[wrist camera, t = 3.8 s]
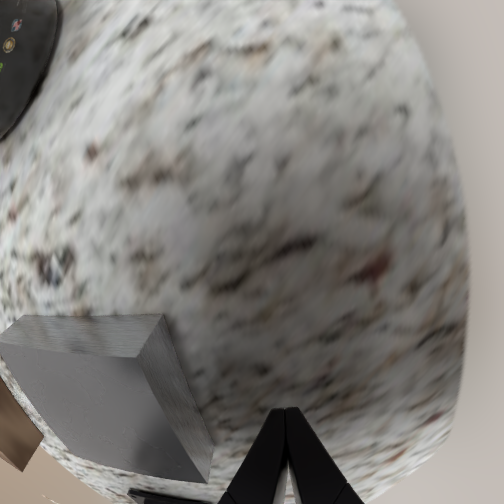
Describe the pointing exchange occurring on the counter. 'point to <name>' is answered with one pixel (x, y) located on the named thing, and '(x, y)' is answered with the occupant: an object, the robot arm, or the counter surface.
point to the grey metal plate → (112, 391)
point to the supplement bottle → (23, 53)
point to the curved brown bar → (16, 431)
